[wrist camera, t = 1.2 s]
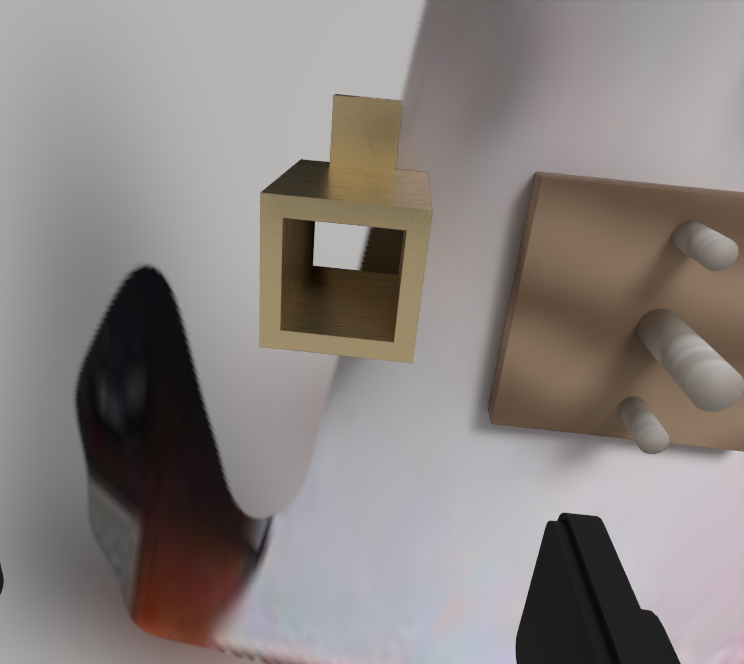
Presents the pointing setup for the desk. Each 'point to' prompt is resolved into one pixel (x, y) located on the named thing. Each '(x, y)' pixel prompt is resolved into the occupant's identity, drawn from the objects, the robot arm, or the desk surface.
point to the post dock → (627, 314)
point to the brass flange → (355, 207)
